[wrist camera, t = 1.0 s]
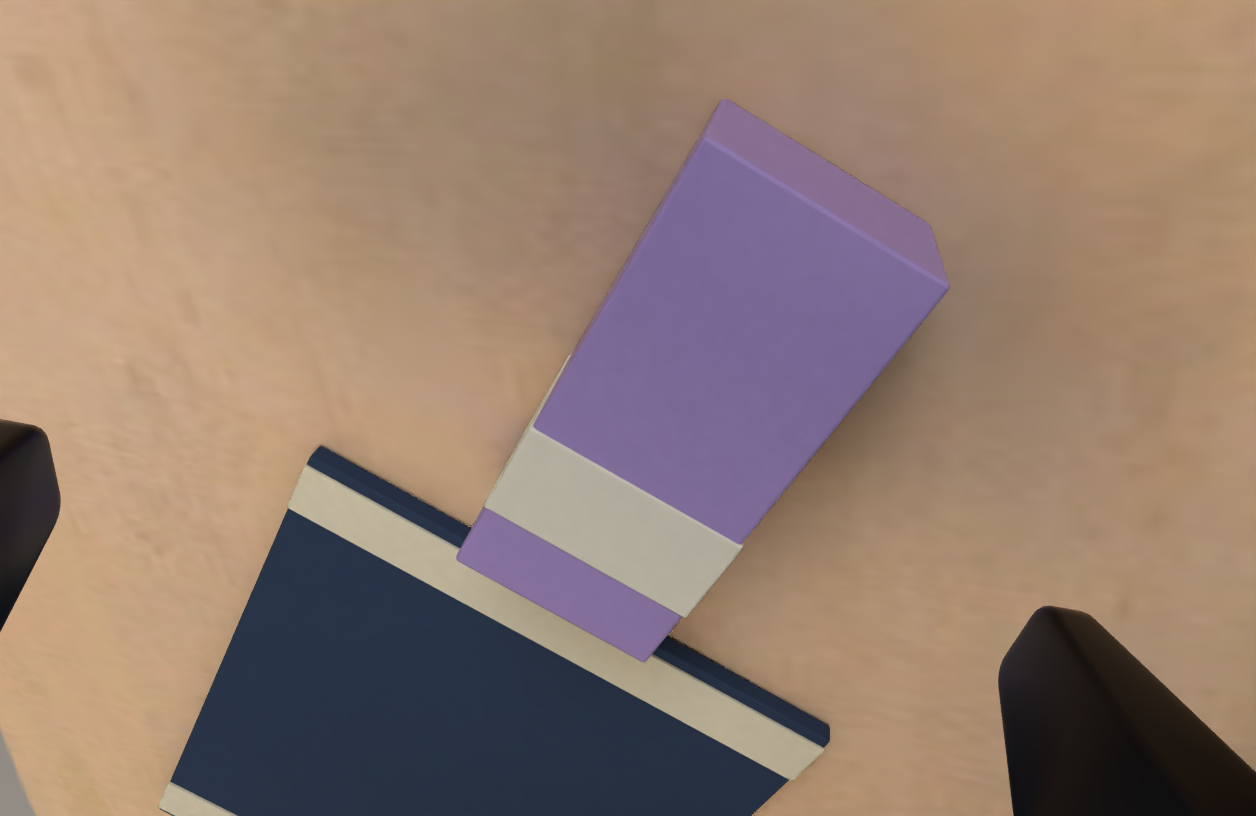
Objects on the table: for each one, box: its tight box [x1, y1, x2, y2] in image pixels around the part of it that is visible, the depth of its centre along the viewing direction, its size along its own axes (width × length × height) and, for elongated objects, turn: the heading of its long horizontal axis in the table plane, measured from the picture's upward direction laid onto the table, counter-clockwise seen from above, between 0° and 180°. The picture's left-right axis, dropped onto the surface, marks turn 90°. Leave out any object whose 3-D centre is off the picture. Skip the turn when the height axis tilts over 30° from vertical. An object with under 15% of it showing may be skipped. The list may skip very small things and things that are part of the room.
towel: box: [158, 446, 830, 816], centre depth 30 cm, size 16×18×1 cm
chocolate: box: [456, 99, 950, 662], centre depth 20 cm, size 5×11×4 cm, turn 151°
